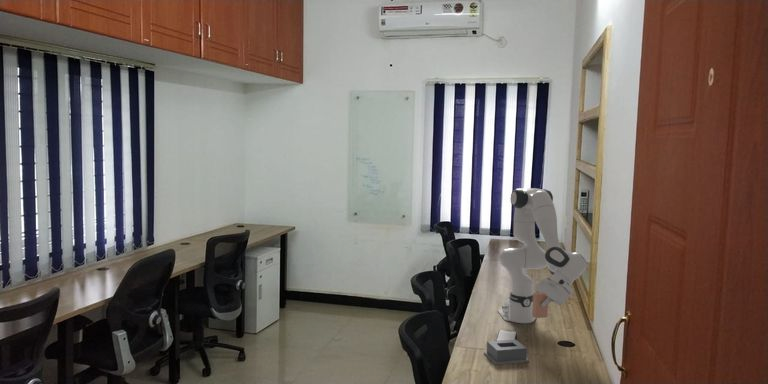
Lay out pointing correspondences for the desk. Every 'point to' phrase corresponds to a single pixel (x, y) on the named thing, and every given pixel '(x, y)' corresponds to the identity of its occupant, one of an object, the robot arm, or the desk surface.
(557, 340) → the desk surface
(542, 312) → the salmon pink rectangular block
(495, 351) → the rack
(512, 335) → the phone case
